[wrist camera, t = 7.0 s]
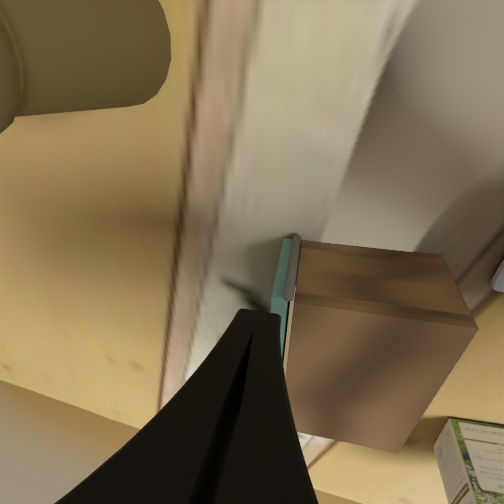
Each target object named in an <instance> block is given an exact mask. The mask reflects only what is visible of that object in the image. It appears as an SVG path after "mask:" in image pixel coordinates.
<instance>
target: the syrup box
mask: <svg viewBox="0 0 504 504" xmlns="http://www.w3.org/2000/svg"><path fill="white" fill-rule="evenodd" d="M434 452H435V456H436V460H437V463H438V467H439V470H440V474H441V477H442V481H443V484H444V488H445V492H446V496H447V499H448V503H449V504H504V426H501V425H494V424H488V423H481V422H474V421H467V420H460V419H453V418H450V419H449V420H448V421H447V422H446V424H445V426H444V427H443V429H442V431H441V433H440V434H439V436H438V438H437V440H436V442H435V444H434Z"/></svg>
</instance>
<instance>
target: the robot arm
mask: <svg viewBox="0 0 504 504" xmlns="http://www.w3.org/2000/svg"><path fill="white" fill-rule="evenodd" d="M490 284H491V286H492V288H493V289H494V290H495V291H498V292H504V260H503V261H502V263H501V265H500V266H499V268H498V270H497V271H496V273H495V275H494V276H493V278H492V280H491V282H490ZM280 328H281V316H280V315H279V314H276V313H269V312H262V311H256V310H249V309H242V308H241V309H240V310H238V312H237V313H236V315H235V317H234V319H233V320H232V322H231V323H230V325H229V327H228V328H227V330H226V331H225V333H224V334H223V335H222V337H221V338H220V340H219V341H218V343H217V344H216V345H215V347H214V348H213V349H212V351H211V352H210V353H209V355H208V356H207V357H206V359H205V360H204V361H203V362H202V364H201V365H200V366H199V367H198V369H197V370H196V371H195V372H194V373H193V375H192V376H191V377H190V378H189V379H188V380H187V382H186V383H185V384H184V385H183V386H182V388H181V389H180V390H179V391H178V392H177V393H176V394H175V395H174V396H173V398H172V399H171V400H170V401H169V402H168V403H167V404H166V405H165V406H164V407H163V408H162V409H161V410H160V411H159V412H158V413H157V414H156V415H155V416H154V417H153V418H152V419H151V420H150V421H149V422H148V423H147V424H146V425H145V426H144V427H143V428H142V429H141V430H140V431H139V432H138V433H137V434H136V435H135V436H134V437H133V438H132V439H131V440H129V441H128V442H127V443H126V444H125V445H124V446H123V447H122V448H121V449H120V450H119V451H118V452H116V453H115V454H114V455H113V456H112V457H110V458H109V459H108V460H107V461H106V462H104V463H103V464H102V465H101V466H100V467H99V468H98V469H96V470H95V471H94V472H93V473H92V474H91V475H89V476H88V477H87V478H86V479H85V480H84V481H82V482H81V483H80V484H79V485H77V486H76V487H75V488H74V489H72V490H71V491H70V492H69V493H68V494H66V495H65V496H64V497H62V498H61V499H60V500H58V501H57V502H56V503H55V504H318V501H317V498H316V495H315V492H314V489H313V486H312V483H311V480H310V476H309V473H308V470H307V466H306V463H305V460H304V456H303V453H302V449H301V446H300V442H299V438H298V435H297V431H296V427H295V423H294V419H293V415H292V410H291V406H290V401H289V397H288V392H287V386H286V381H285V375H284V368H283V362H282V354H281V342H280Z"/></svg>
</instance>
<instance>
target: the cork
mask: <svg viewBox="0 0 504 504" xmlns="http://www.w3.org/2000/svg"><path fill="white" fill-rule="evenodd" d="M170 61H171V45H170V33H169V29H168V25H167V22H166V18H165V14H164V10H163V8H162V6H161V4H160V3H159V1H158V0H0V133H2V132H3V131H4V130H5V129H6V128H7V127H8V126H9V125H11V124H12V123H13V121H14V118H15V117H18V116H29V115H40V114H51V113H62V112H73V111H84V110H95V109H107V108H118V107H128V106H134V105H139V104H143V103H145V102H146V101H148V100H149V99H151V98H152V97H154V96H155V95H156V94H157V93H158V91H159V90H160V88H161V87H162V85H163V83H164V82H165V80H166V77H167V73H168V69H169V65H170Z"/></svg>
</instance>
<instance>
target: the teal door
mask: <svg viewBox="0 0 504 504" xmlns="http://www.w3.org/2000/svg"><path fill="white" fill-rule="evenodd" d="M300 244H301V237H300V236H299V235H295V236H293V239H285V238H284V240H283V244H282V249H281V254H280V258H279V263H278V268H277V272H276V277H275V282H274V286H273V291H272V296H271V310H270V313H276V314H279V315H280V316H281V328H280V342H281V354H282V362H283V361H284V352H285V343H286V333H287V324H288V315H289V306H290V301H292V300H293V298H294V290H295V282H296V275H297V267H298V259H299V251H300Z"/></svg>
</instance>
